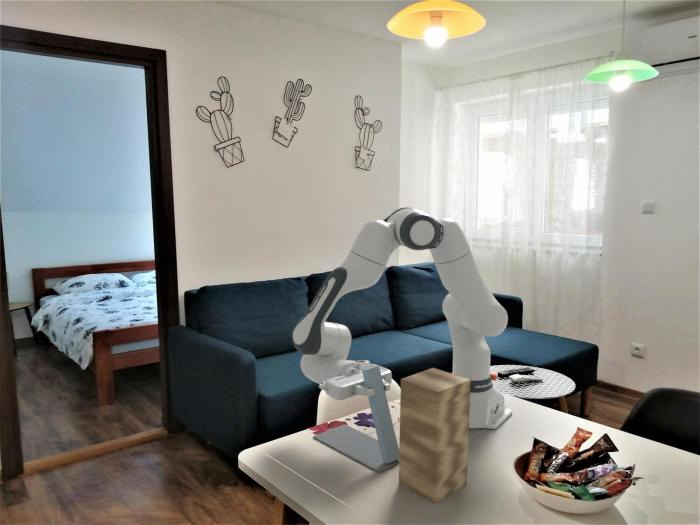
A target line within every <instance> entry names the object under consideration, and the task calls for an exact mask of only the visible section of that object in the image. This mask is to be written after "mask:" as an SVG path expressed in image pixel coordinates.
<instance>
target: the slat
mask: <svg viewBox="0 0 700 525" xmlns="http://www.w3.org/2000/svg"><path fill="white" fill-rule="evenodd" d="M379 366H380V365H378V366H374V367H370V368H367V369H364V370H362V374H363V378H364V382H365V386H366V388H372V389H374V395H373V396H371V397H368V396H367V398H368V404H369V407H370V411H371V416H372V420H373V421H372V422H373V424H374V428H375V433H376V437H377V438H376V439H377V440H378V442H379V446H380V451H381V455H382V459H383V463H391V462H393V461H395V460H397V459H399V444H398V440H397V439H398V438H397V436H396V431H395V427H394V424H393V418H392V415H391V414H392V413H391V410H390V406H389V403H388V399H387V394H386V391H385V389H384V385H383V380H382V376H381V372H380V368H379Z"/></svg>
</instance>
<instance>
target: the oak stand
mask: <svg viewBox="0 0 700 525" xmlns="http://www.w3.org/2000/svg"><path fill="white" fill-rule="evenodd" d="M470 385H471V379H468V378H465V377H461V376H458V375H455V374H452V372H447V371H444V370H441V369H438V368H435V367H431V368H428V369H426V370H423V371H420V372H417V373H415V374H412V375H409V376H406V377H403V378H400V398H399V399H400V400H399V402H400V403H399V405H400V407H399V410H400V411H399V446H398V448H399V463H398V484H399V485H400V486H402V487H404V488H406V489H408V490H410V491H412V492H414V493H415V494H417V495H419V496H420V497H422V498H424V499H427V500H429V501H430V502H432V503H434V504H437V503H438V502H440V501H441V500H443V499H444V498H446V497H447V496H449V495H451V494H453V493H454V492H455V491H457V490H459V489H461V488H462V487H463V486H466V485H467V481H468V455H469V434H470V433H469V432H470V431H469V429H470V428H469V411H470Z"/></svg>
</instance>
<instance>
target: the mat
mask: <svg viewBox="0 0 700 525" xmlns="http://www.w3.org/2000/svg"><path fill="white" fill-rule="evenodd" d="M312 438H313V439H314V440H317V441H318V442H320V443H322V444H325V445H326V446H328V447H330V448H331V449H333V450H335V451H337V452H339V453H341V454H343V455H345V456H346V457H349V458H350V459H352V460H354V461H355V462H357V463H360V464H361V465H363V466H365V467H367V468H369V469H370V470H372V471H375V472H376V473H378V474H380V473H382V472H384V471H386V470H388V469H390V468H392V467H394V466H397V465H399V459H397V460H395V461H393V462H391V463H383V459H382V455H381V451H380V446H379V442H378V438H375V437H373V436H370V435H368V434H366V433H364V432H362V431H360V430H358V429H356V428H354V427H351V426H350V425H348V424H345V423H344V424H342V425H338V426H336V427H334V428H331V429H329V430H326V431H323V432H321V433H320V432H319V433H318V434H316V435H313V436H312Z"/></svg>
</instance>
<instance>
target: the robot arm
mask: <svg viewBox="0 0 700 525" xmlns="http://www.w3.org/2000/svg"><path fill="white" fill-rule="evenodd" d="M401 246H403V247H406V248H407V249H410V250H413V251H425V250H429V252H430V254H431V257H432V260H433V263H434V265H435V268H436V270H437V273H438V276H439V278H440V280H441V284H442V286H443V287H444V289H445V290H446V291H447V292H448V294H447V295H446V296H445V297H444V299H443V301H442V305H441V306H442V307H441V308H442V313H443V315H444V317H445V318H446V321H447V324H448V328H449V333H450V339H451V343H452V372H451V373H452V374H455V375H458V376H461V377H465V378H468V379H471V385H470V411H469V429H489V430H490V429H491V430H495V429H497V428H499V427H500V426H501V424H503V423H504V422H505V421H507V419H508V418H509V417H510V416H511V415H512V414H513V410H512V409H511V408H509V407H508V406H506V405H505V396H504V394H503V393H502V392H501V391H500V390H498V389H497V388H496V387H495V386H494V385H493V381H494V382H496V381H497V380H498V374H497V373H492V372H491V349H490V347H489V345H488V344H487V341H486V339H485V337H489V338H493V337H497V336H499V335H501V334H502V333H503V332H504V331H505V329H506V328H507V325H508V323H509V322H508V321H509V317H508V312H507V310H506V309H505V308H504V306H502V305H501V303H500V302H498V300H497V299H496V298H495V296H494V294H493V293H492V291H491V289H490V288H489V286H488V285H487V283H486V281H485V280H484V278H483V277H482V274H481V273H480V271H479V269H478V266H477V263H476V260H475V258H474V255H473V252H472V250H471V247H470V244H469V241H468V240H467V237H466V235H465V234H464V231H463V230H462V228H461V226H460V225H459V222H457V221H456V220H455V219H453V218H449V217H448V218H445V217H443V218H440V219H436V218H434V217H433V216H432V215H430V214H429V213H427V212H424V211H422V210H421V209H418V208H412V207H406V206H405V207H402V208H398V209H396V210H395V211H393V212H392V213H391V214H389V215H388V216H387V217H386V218H384V219H383V220H381V219H372V220H368V221H367V222H365V223H364V225H363V227H362V229H361V230H360V231H359V233H358V234H357V236H356V238H355V240H354V242H353V244H352V246H351V248H350V250H349V253H348V255H347V256H346V258H345V259H344V260H343V262H342V263H341V264H340V265H339V266H338V267H336V268H334V269H333V270H332V271H331V272H330V273H329V274H328V276H327V277H326V279H325V280H324V282H323V284H322V285H321V286H320V288H319V290H318V292H317V293H316V295H315V297H314V298H313V300H312V302H311V303H310V305H309V307H308V308H307V310H306V312H305V313H304V315H303V316H301V318H300V319H299V321H298V322H296V324H295V326H294V328H293V330H292V334H291V336H292V337H291V338H292V343H293V345H294V347H295V349H296V350H297V352H298V353H299V354H300V355H302V356H301V359H300V370H301V372H302V373H303V375H304V376H305V378H308V380H311V382H314V383H316V384H317V385H318V388H319V389H320V390H322V391H325V394H326V395H327V396H329V397H330V398H332V399H335V401H343V400H346V399H349V398H353V397H356V396H366V397H367V398H368V397H371V396H373V395H374V389H372V388H366V386H365V382H364V378H363V374H362V370H364V369H367V368H370V367H374V366H379V368H380V372H381V376H382V380H383V385H384V389H385V392H388V391H390V390H391V384H392V380H393V377H392V376H393V374H392V371H391V370H390V369H388V368H387V367H383V366H380V365H378V364H375V363H371V362H370V360H368V359H361V360H360V359H359V360H351V359H348V357H349V355H350V352H351V349H352V345H353V344H352V343H353V337H352V333H351V330H350V329H349V327H348V326H346V325H344V324H340V323H336V322H328V321H327V319H328V317H329V316H330V314H331V313H332V311H333V309H334V308H335V305H336V304H337V302H338V301H339V299H341V297H343V296H344V295H346V294H348V293H352V292H354V291H359V290H365V289H368V288H371V287H372V286H373V287H374V285H376V284H377V283H378V281H379V280H380V279H381V278H382V276H383V274H384V272H385V269H386V267H387V265H388V262H389V259H390V257H391V255H392V254H393V253H394V251H395V250H396V249H397V248H399V247H401Z"/></svg>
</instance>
